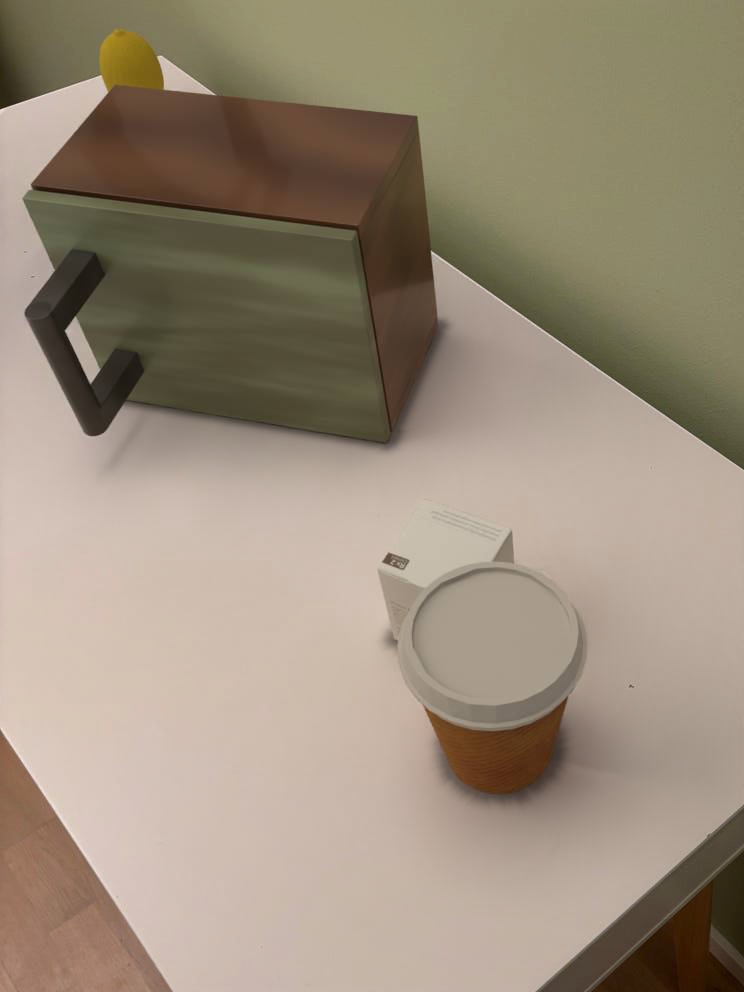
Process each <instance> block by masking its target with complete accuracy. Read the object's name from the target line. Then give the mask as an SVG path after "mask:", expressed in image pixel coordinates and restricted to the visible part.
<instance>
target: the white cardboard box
mask: <svg viewBox="0 0 744 992" xmlns="http://www.w3.org/2000/svg"><path fill="white" fill-rule="evenodd" d="M513 539H514V536H513V529H512V528H510V527H507V526H504V525H502V524H498V523H495V522H492V521H489V520H487V519H484V518H481V517H479V516H475V515H473V514H470V513H467V512H464V511H461V510H458V509H455V508H453V507H450V506H447V505H445V504H441V503H438V502H436V501H433V500H430V499H427V498H425V499H424V500H423V501H422V502H421V503H420V504H419V506H418V508H417V509H416V510H415V512H414V514H413V515H412V517H411V518H410V520H409V521H408V522H407V524H406V525H405V527H404V528H403V530H402V532H401V533H400V534H399V536H398V538H397V539H396V540H395V542H394V543H393V544H392V546H391V548H390V549H389V550H388V552H387V554H386V555H385V557H384V558H383V559H382V561H380V563H379V565H378V567H377V569H376V570H377V574H378V578H379V582H380V587H381V590H382V594H383V598H384V603H385V606H386V610H387V611H386V612H387V615H388V619H389V623H390V627H391V632H392V636H393V639H394V640H395V641H397V642H398V638H399V633H400V630H401V627H402V625H403V622H404V619H405V618H406V616H407V614H408V613H409V611H410V609H411V607H412V605H413V604H414V602H415V600H416V599H417V598H418V596H419V595H420V593H421V592H422V591H423V590H424V589H425V588H426V587H427V586H428V585H430V584H431V583H432V582H433V581H434V580H436V579H437V578H439V577H440V576H442V575H443V574H445V573H447V572H450V571H452V570H454V569H456V568H459V567H462V566H465V565H469V564H475V563H480V562H507V563H513V564H515V553H514V550H515V549H514V540H513Z"/></svg>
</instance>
